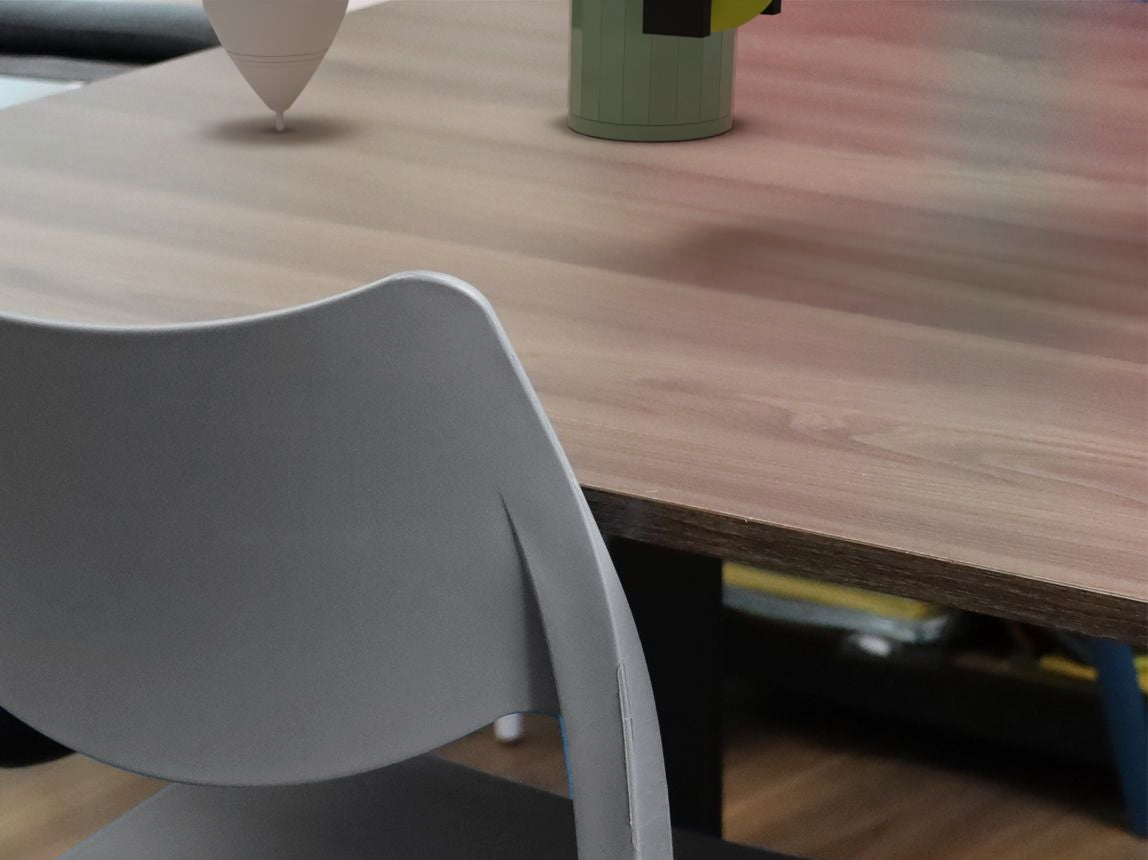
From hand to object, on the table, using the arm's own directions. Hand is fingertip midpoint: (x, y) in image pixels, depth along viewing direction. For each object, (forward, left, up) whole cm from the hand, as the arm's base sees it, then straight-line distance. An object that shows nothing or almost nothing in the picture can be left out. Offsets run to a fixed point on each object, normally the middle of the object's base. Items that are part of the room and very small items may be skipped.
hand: (713, 21), depth 97 cm
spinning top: (+29, -9, -9) cm, 32 cm away
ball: (0, 0, 0) cm, 0 cm away
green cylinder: (+13, -20, -9) cm, 26 cm away
